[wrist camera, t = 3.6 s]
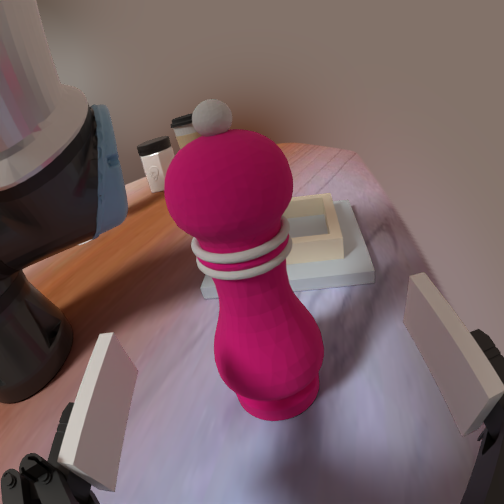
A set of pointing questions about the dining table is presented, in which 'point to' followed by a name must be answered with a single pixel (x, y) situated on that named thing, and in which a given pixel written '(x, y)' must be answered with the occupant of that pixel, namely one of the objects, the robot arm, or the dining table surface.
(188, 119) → the coffee cup
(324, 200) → the board
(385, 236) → the dining table surface
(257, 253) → the pepper mill
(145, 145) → the jar
